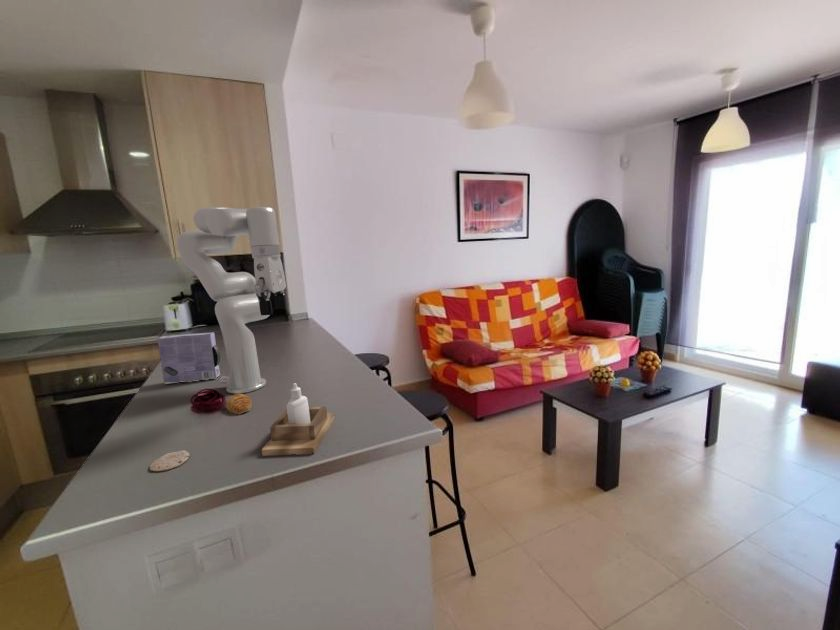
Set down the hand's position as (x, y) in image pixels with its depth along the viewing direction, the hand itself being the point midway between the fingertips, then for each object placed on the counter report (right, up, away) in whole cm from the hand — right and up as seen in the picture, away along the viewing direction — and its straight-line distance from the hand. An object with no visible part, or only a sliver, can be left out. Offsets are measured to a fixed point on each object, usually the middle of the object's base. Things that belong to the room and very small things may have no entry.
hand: (274, 311), depth 112 cm
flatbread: (-14, -35, -24) cm, 45 cm away
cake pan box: (-42, -26, +32) cm, 59 cm away
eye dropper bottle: (+13, -30, -16) cm, 36 cm away
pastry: (-11, -29, +4) cm, 32 cm away
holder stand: (+13, -31, -16) cm, 37 cm away
